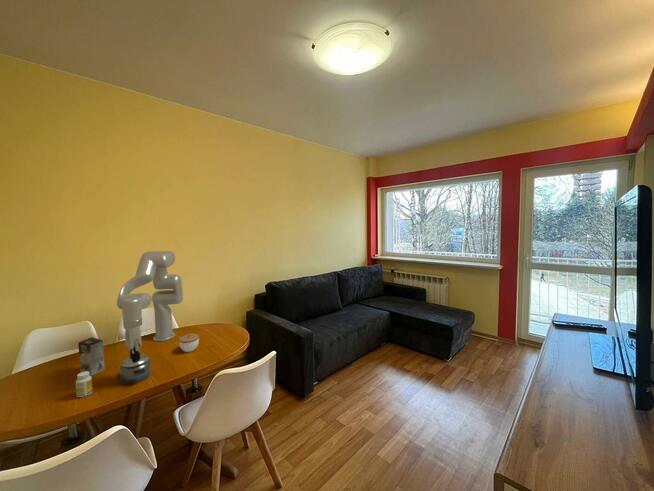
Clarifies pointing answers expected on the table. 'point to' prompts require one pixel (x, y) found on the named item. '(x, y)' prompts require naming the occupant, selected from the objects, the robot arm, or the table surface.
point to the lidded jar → (189, 342)
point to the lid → (129, 363)
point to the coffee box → (91, 355)
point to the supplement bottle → (83, 384)
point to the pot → (135, 373)
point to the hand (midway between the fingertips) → (135, 358)
